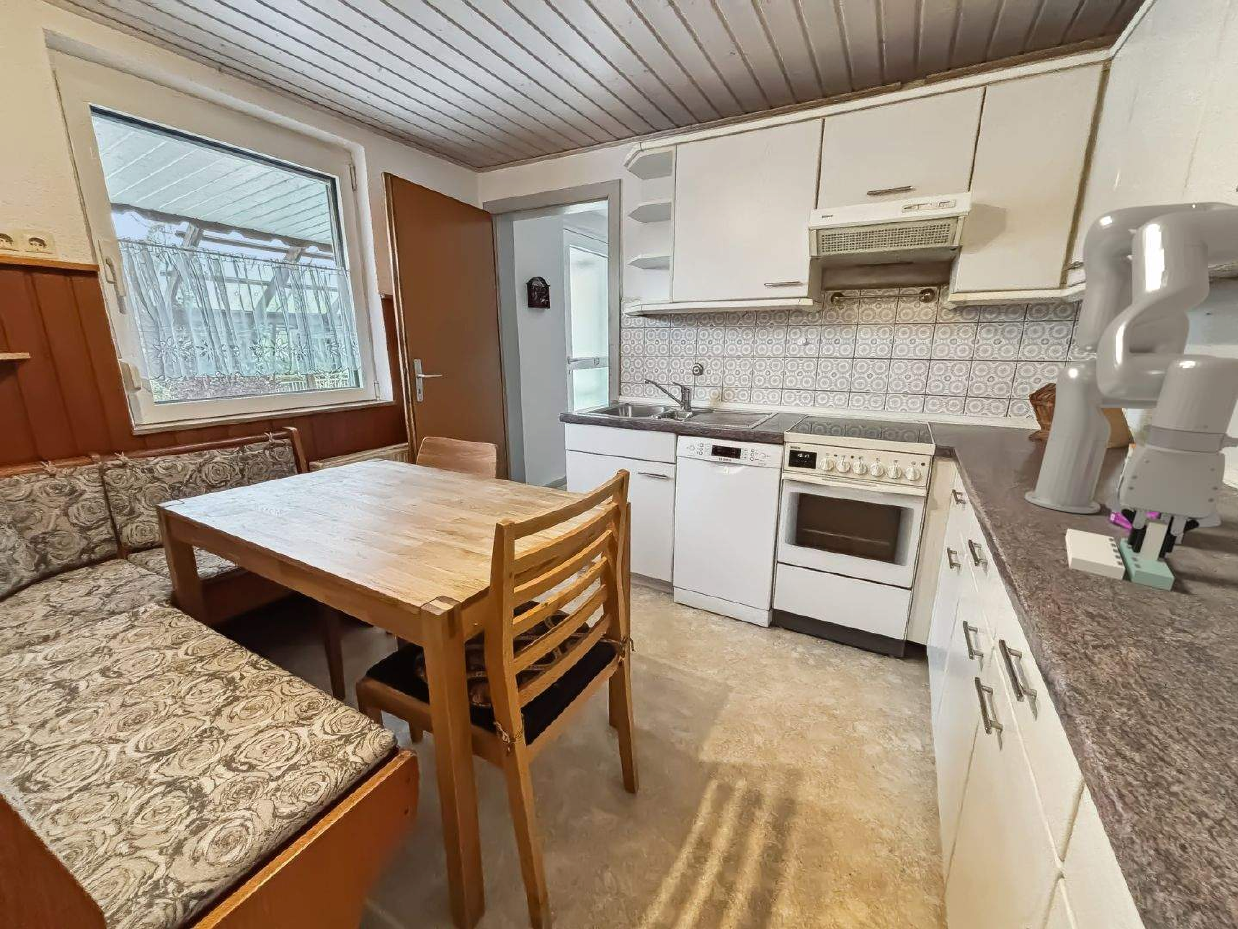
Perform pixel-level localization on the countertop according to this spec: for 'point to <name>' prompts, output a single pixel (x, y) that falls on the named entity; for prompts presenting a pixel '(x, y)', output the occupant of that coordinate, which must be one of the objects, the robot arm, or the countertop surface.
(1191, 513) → the robot arm
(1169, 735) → the countertop surface
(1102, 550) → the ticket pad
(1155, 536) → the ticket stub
